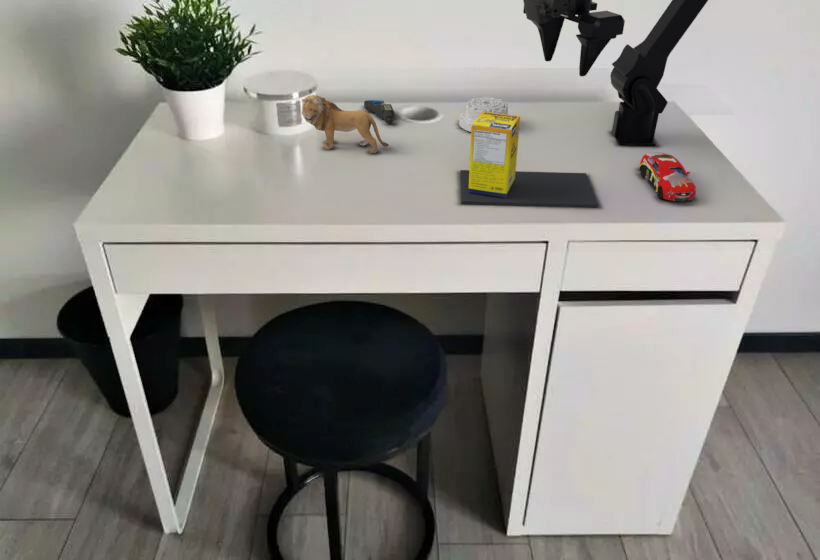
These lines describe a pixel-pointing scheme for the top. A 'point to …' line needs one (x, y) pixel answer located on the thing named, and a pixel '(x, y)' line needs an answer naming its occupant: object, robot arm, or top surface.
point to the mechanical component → (481, 105)
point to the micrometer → (380, 109)
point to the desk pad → (537, 190)
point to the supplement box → (493, 154)
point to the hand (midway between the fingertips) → (564, 68)
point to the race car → (667, 177)
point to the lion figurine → (339, 121)
